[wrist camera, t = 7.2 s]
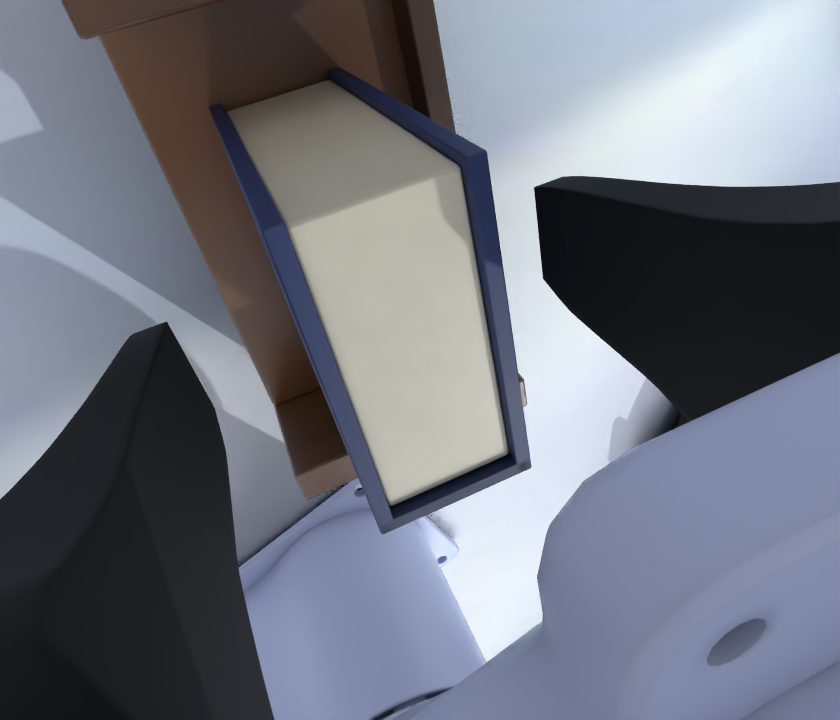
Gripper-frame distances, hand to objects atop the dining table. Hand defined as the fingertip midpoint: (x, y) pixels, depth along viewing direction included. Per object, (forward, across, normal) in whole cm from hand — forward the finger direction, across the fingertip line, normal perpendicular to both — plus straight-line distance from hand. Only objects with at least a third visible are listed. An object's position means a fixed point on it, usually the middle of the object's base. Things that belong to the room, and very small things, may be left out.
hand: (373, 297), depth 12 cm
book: (+5, 0, 0) cm, 5 cm away
